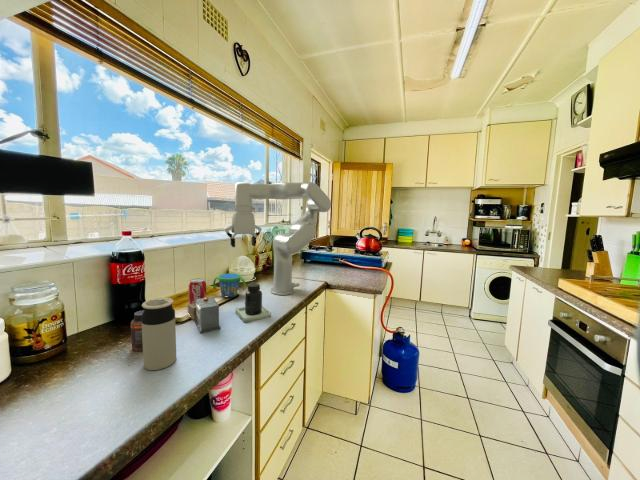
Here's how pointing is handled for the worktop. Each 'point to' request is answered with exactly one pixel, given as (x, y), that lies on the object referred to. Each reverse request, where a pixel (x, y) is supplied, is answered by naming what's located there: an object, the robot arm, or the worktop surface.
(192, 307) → the walnut block
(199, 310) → the control box
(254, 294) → the supplement bottle
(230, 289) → the snack cup
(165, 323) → the travel mug
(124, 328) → the worktop surface
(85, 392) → the worktop surface
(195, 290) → the soda can
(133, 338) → the supplement bottle
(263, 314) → the tray
